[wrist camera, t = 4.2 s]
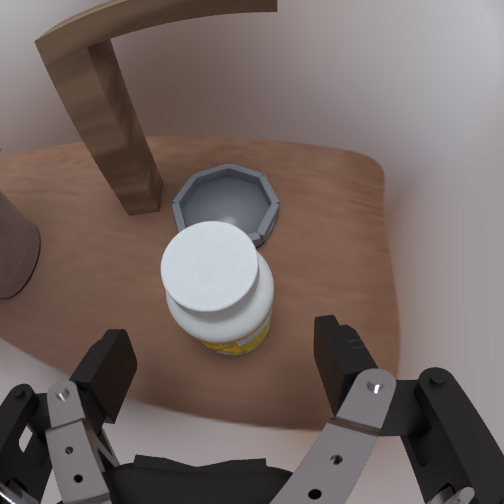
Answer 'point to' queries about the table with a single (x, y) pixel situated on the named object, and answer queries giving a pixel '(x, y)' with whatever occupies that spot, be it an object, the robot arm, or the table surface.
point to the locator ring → (228, 201)
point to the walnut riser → (117, 85)
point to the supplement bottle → (218, 287)
